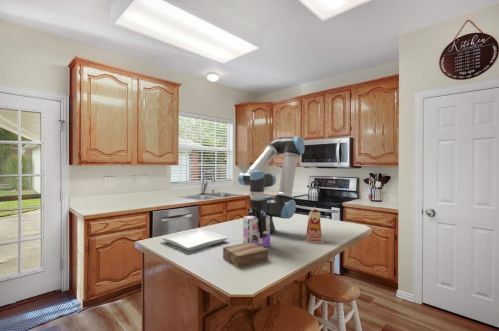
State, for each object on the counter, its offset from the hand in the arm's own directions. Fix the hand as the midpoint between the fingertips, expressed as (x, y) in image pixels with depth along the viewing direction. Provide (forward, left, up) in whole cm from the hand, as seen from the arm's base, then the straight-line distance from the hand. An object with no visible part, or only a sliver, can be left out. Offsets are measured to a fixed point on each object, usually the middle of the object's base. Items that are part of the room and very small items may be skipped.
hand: (256, 242), depth 142 cm
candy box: (0, 0, -3) cm, 3 cm away
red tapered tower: (+9, +35, -3) cm, 36 cm away
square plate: (-25, -25, -3) cm, 35 cm away
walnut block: (+12, -15, -2) cm, 19 cm away
